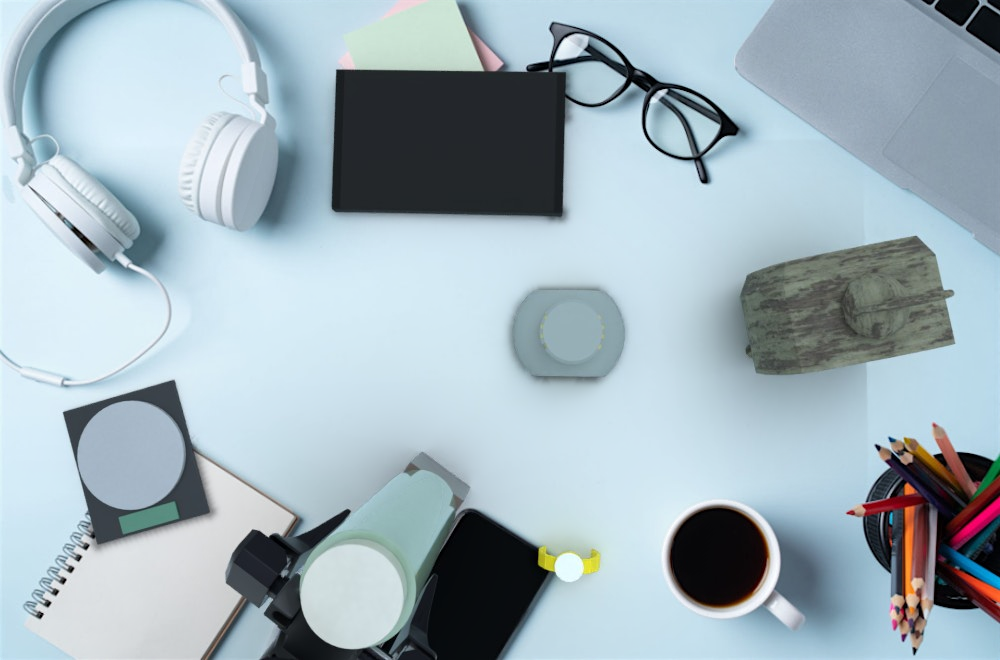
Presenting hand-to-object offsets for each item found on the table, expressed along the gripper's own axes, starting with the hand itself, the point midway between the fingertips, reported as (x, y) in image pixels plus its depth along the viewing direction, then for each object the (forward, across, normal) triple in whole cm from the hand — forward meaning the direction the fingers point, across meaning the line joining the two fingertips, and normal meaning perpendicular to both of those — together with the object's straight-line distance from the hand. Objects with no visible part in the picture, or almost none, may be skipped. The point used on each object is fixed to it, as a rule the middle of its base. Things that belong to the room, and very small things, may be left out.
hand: (391, 543), depth 67 cm
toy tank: (+37, -19, -18) cm, 46 cm away
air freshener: (+26, -2, -8) cm, 27 cm away
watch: (+14, -15, +5) cm, 21 cm away
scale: (0, +26, +18) cm, 32 cm away
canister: (+5, 0, +1) cm, 5 cm away
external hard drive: (+32, +19, -14) cm, 40 cm away
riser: (+11, 0, +7) cm, 13 cm away
